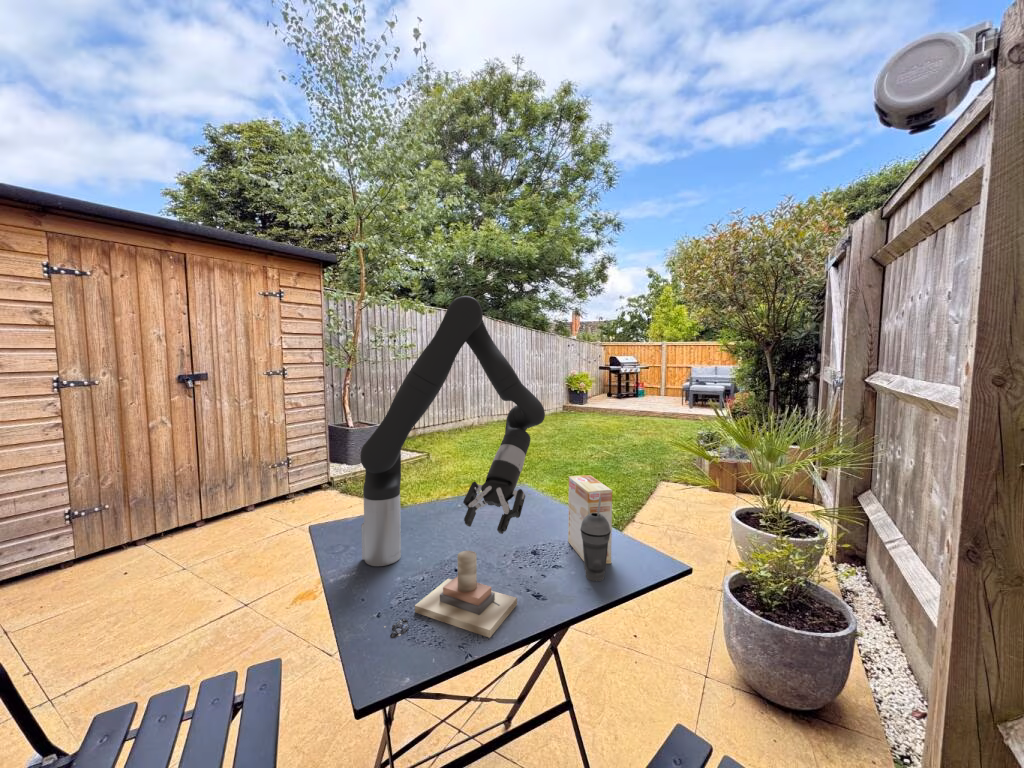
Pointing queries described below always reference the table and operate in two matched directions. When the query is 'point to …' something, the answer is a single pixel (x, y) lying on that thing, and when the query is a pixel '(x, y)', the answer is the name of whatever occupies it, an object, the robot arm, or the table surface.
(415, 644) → the table surface
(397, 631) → the gravel pile
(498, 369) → the robot arm
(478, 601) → the block
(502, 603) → the board
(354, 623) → the table surface
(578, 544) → the coffeecake box
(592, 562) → the beverage cup
